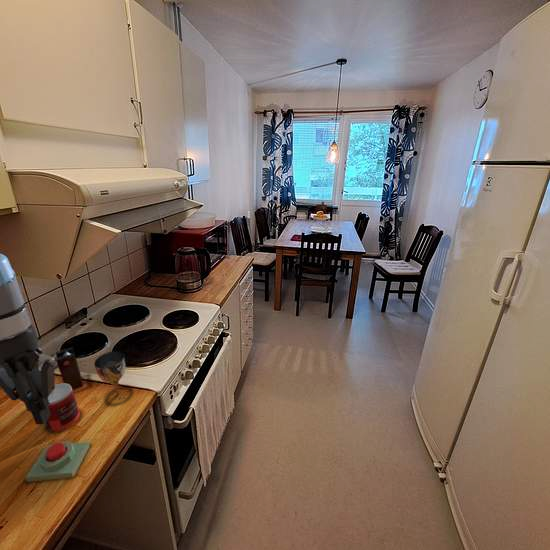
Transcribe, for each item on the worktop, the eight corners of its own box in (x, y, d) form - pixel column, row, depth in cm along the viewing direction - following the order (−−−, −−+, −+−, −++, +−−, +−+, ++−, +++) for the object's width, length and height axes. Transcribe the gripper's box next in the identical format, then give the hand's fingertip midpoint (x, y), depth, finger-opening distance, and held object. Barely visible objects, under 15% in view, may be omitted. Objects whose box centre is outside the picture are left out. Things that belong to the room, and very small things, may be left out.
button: (44, 462, 68) (42, 457, 67) (53, 448, 71) (51, 443, 70) (60, 460, 68) (58, 455, 67) (69, 447, 71) (67, 442, 71)
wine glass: (130, 404, 88) (121, 365, 83) (102, 410, 86) (90, 370, 81) (134, 386, 95) (126, 349, 90) (108, 391, 93) (98, 353, 88)
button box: (28, 483, 67) (22, 472, 65) (49, 451, 74) (44, 440, 72) (73, 478, 68) (69, 467, 66) (90, 447, 75) (86, 436, 74)
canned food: (52, 415, 84) (41, 386, 80) (83, 408, 87) (74, 380, 83) (43, 437, 77) (30, 407, 73) (77, 429, 80) (67, 399, 76)
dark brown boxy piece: (61, 399, 90) (48, 364, 85) (60, 386, 95) (48, 352, 90) (90, 388, 94) (80, 354, 89) (88, 376, 99) (78, 343, 94)
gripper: (55, 319, 60) (82, 403, 69) (-13, 323, 59) (24, 408, 68) (31, 340, 54) (65, 430, 62) (-46, 344, 52) (-1, 436, 61)
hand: (43, 419), depth 65 cm, fingers closed
